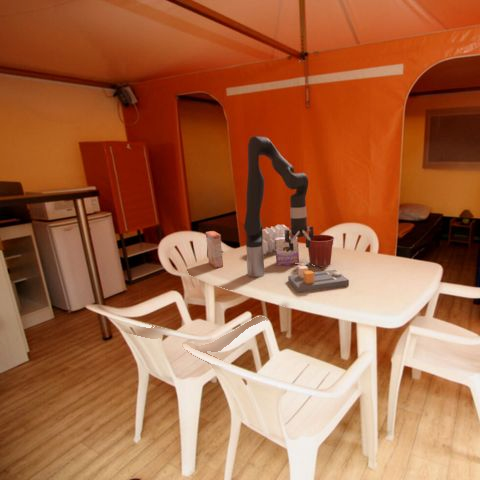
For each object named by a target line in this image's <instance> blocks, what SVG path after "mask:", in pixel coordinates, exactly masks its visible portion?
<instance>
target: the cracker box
mask: <svg viewBox="0 0 480 480" xmlns="http://www.w3.org/2000/svg"><path fill="white" fill-rule="evenodd" d="M221 236H222V235H221V234H220V233H218V232H217V231H215V230H211V231H206V232H205V238H206V248H207V258H208V263H209V264H210V265H211V266H212V267H213V268H214V267H215V268H214V269H217V267H218V268H221V267H222V268H223V267H224V260H223V247H222V237H221Z"/></svg>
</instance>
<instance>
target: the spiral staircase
mask: <svg viewBox="0 0 480 480" xmlns="http://www.w3.org/2000/svg"><path fill="white" fill-rule="evenodd" d="M285 230H290V227H287V226H286V225H285V224H277V225H275V226H270V228H269V227H267V226H266V227H265V228H262V233H263V255H267V253H273V251H274V252H276V248H275V238H276V237H285Z"/></svg>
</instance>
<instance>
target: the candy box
mask: <svg viewBox="0 0 480 480" xmlns="http://www.w3.org/2000/svg"><path fill="white" fill-rule="evenodd" d="M289 239H290V236H289ZM275 248H276V251H275V260H276V261H275V262H276V263H275V264H276V266H287V265H288V266H290V265H296V264H295V263H299V264H300V255H299V238H297V237H296V239H295V240H294V241H293V249H294V250H293V251H291V250H290V249H289V243H287V242H285V237H276V238H275Z"/></svg>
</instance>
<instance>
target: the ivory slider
mask: <svg viewBox="0 0 480 480" xmlns="http://www.w3.org/2000/svg"><path fill="white" fill-rule="evenodd" d="M297 269H298V272H297V275H299V277H300V278H304V274H303V272H304V271H309V267H308V266H306V265H300V266H298V267H297Z"/></svg>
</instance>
